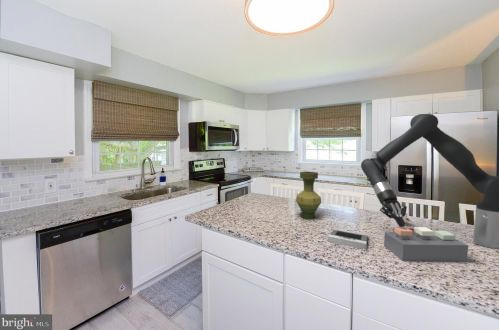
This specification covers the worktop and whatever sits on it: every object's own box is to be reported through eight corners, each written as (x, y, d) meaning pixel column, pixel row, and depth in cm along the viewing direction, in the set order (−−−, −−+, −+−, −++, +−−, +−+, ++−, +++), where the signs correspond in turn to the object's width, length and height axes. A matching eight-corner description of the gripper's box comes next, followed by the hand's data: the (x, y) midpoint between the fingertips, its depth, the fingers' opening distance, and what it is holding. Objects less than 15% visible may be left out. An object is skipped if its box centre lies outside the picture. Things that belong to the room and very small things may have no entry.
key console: (440, 246, 108) (441, 232, 107) (466, 261, 94) (468, 245, 94) (383, 245, 109) (384, 231, 108) (402, 260, 95) (403, 244, 95)
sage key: (445, 242, 103) (445, 230, 103) (454, 247, 98) (455, 235, 98) (433, 242, 104) (434, 230, 103) (442, 247, 99) (443, 235, 98)
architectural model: (407, 224, 140) (407, 212, 139) (412, 228, 133) (413, 215, 132) (401, 223, 140) (401, 211, 140) (406, 227, 134) (406, 215, 133)
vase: (290, 217, 153) (291, 172, 150) (304, 212, 163) (305, 170, 161) (312, 223, 141) (313, 175, 138) (325, 217, 151) (326, 172, 149)
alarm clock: (327, 236, 114) (334, 223, 127) (327, 244, 114) (334, 231, 128) (366, 243, 105) (368, 229, 119) (366, 253, 106) (368, 237, 119)
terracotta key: (404, 238, 104) (405, 226, 103) (411, 243, 99) (412, 231, 98) (393, 238, 104) (393, 226, 104) (400, 243, 99) (400, 231, 99)
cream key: (424, 238, 104) (425, 227, 103) (433, 243, 99) (434, 231, 98) (413, 238, 104) (414, 227, 103) (421, 243, 99) (422, 231, 98)
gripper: (376, 189, 108) (394, 223, 97) (401, 188, 110) (421, 221, 99) (368, 197, 114) (384, 230, 103) (392, 196, 116) (410, 229, 105)
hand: (402, 226), depth 101 cm, fingers closed
